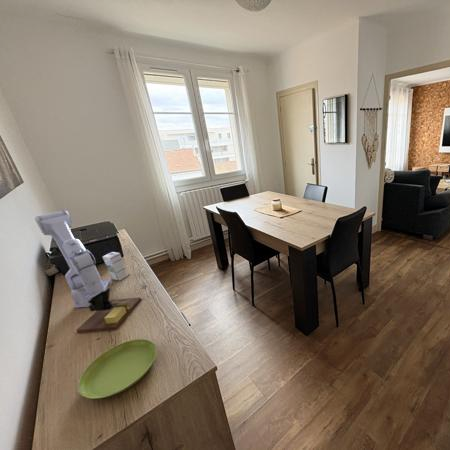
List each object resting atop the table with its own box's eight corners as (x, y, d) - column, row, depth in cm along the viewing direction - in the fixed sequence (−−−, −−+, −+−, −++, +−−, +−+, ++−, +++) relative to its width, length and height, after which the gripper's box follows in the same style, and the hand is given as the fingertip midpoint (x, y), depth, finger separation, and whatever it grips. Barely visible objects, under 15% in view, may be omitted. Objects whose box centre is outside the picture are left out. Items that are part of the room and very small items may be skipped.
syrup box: (129, 275, 134) (120, 252, 128) (118, 281, 129) (109, 257, 123) (122, 273, 136) (113, 251, 130) (111, 279, 130) (101, 256, 125)
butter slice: (119, 310, 104) (116, 305, 103) (122, 307, 106) (119, 301, 105) (128, 309, 104) (126, 304, 103) (131, 306, 106) (129, 301, 105)
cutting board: (77, 332, 95) (76, 329, 95) (108, 302, 112) (107, 300, 111) (116, 329, 96) (114, 326, 95) (141, 299, 112) (140, 297, 112)
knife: (90, 311, 101) (88, 306, 100) (94, 307, 103) (92, 303, 102) (129, 308, 102) (127, 303, 101) (132, 304, 104) (130, 299, 103)
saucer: (89, 422, 64) (85, 414, 63) (76, 376, 77) (72, 369, 76) (168, 366, 79) (166, 359, 78) (146, 336, 92) (143, 329, 90)
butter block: (106, 323, 97) (104, 318, 96) (117, 312, 103) (114, 307, 102) (116, 322, 97) (114, 317, 96) (126, 312, 103) (124, 306, 102)
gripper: (88, 290, 90) (101, 318, 95) (113, 270, 104) (124, 295, 109) (69, 292, 90) (83, 320, 95) (97, 271, 104) (108, 296, 109)
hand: (103, 307), depth 102 cm, fingers closed on knife, 2 cm apart
